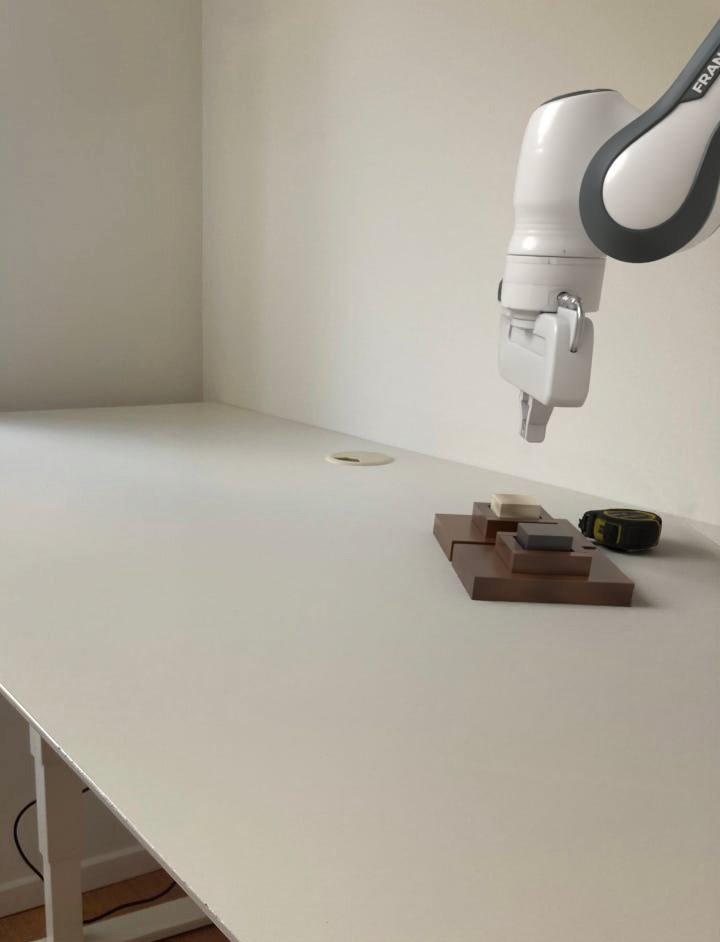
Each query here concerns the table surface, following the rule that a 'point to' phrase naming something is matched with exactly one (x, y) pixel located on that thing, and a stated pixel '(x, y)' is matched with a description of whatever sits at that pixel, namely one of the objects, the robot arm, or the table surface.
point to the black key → (544, 537)
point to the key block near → (540, 574)
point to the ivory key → (515, 506)
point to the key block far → (489, 528)
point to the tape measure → (622, 528)
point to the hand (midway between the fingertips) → (531, 439)
